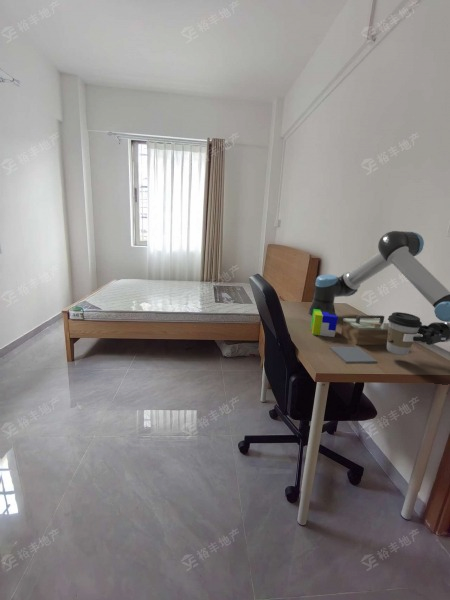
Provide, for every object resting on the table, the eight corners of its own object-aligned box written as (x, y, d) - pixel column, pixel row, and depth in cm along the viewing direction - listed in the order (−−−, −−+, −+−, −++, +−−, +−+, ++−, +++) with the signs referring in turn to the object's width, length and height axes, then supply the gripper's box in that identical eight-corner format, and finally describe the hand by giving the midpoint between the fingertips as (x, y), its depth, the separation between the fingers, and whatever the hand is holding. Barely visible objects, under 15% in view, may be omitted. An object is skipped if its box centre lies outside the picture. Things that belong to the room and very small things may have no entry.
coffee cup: (375, 344, 115) (383, 310, 111) (402, 346, 115) (411, 312, 111) (390, 357, 104) (399, 320, 100) (420, 359, 104) (430, 322, 100)
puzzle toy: (334, 337, 131) (337, 317, 128) (312, 334, 132) (315, 314, 130) (330, 329, 140) (334, 311, 138) (310, 327, 142) (313, 309, 139)
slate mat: (329, 348, 118) (329, 346, 118) (357, 348, 120) (357, 346, 119) (345, 362, 105) (346, 361, 105) (376, 362, 107) (377, 361, 107)
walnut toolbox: (340, 333, 135) (344, 311, 132) (375, 333, 138) (379, 311, 135) (355, 344, 123) (360, 320, 120) (393, 344, 125) (399, 320, 122)
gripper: (468, 354, 99) (413, 354, 97) (417, 329, 122) (371, 328, 119) (474, 335, 97) (419, 334, 94) (421, 313, 120) (375, 312, 117)
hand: (392, 331), depth 107 cm, fingers closed on coffee cup, 11 cm apart
